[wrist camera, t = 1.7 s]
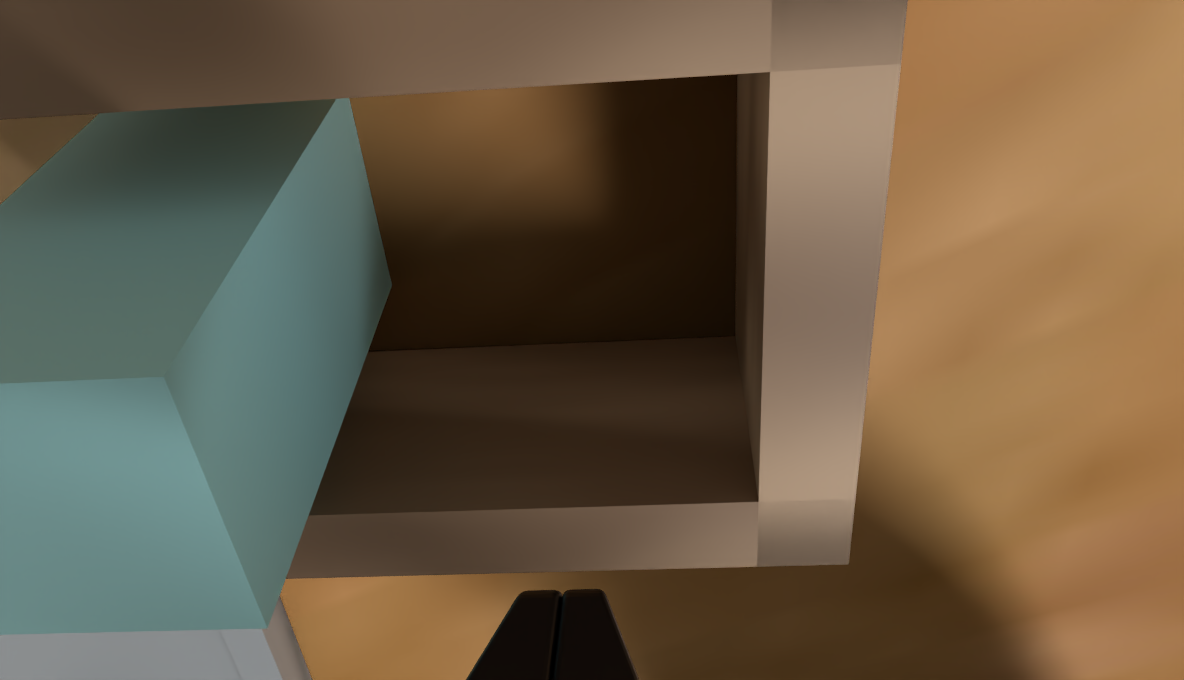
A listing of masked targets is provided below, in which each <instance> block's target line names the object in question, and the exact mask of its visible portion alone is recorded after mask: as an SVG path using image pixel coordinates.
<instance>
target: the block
mask: <svg viewBox="0 0 1184 680" xmlns="http://www.w3.org/2000/svg"><path fill="white" fill-rule="evenodd" d="M391 287H392V283H391V278H390V274H389V270H388V265H387V261H386V257H385V252H384V248H383V243H382V239H381V235H380V230H379V226H378V222H377V217H376V213H375V209H374V204H373V200H372V196H371V191H370V187H369V182H368V178H367V174H366V169H365V165H364V161H363V156H362V152H361V148H360V143H359V139H358V134H357V130H356V126H355V121H354V117H353V113H352V108H351V104H350V100H349V98H341V99H325V100H308V101H292V102H276V103H260V104H243V105H227V106H211V107H195V108H179V109H162V110H146V111H130V112H114V113H99V114H98V115H97V116H96V117H95V118H94V119H93V120H92V121H91V122H90V123H89V124H87V125H86V126H85V127H84V128H83V129H82V130H81V131H80V132H79V133H78V134H77V135H75V136H74V137H73V138H72V139H71V140H70V141H69V142H68V143H67V144H66V145H65V146H64V147H62V148H61V149H60V150H59V151H58V152H57V153H56V154H55V155H54V156H53V157H52V158H50V159H49V160H48V161H47V162H46V163H45V164H44V165H43V166H42V167H41V168H40V169H39V170H37V171H36V172H35V173H34V174H33V175H32V176H31V177H30V178H29V179H28V180H27V181H25V182H24V183H23V184H22V185H21V186H20V187H19V188H18V189H17V190H16V191H15V192H14V193H12V194H11V195H10V196H9V197H8V198H7V199H6V200H5V201H4V202H3V203H2V204H1V205H0V635H12V634H54V633H97V632H139V631H181V630H224V629H266V628H268V626H269V623H270V620H271V618H272V615H273V612H274V609H275V606H276V604H277V601H278V598H279V595H280V593H281V590H282V587H283V584H284V582H285V579H286V576H287V573H288V571H289V568H290V565H291V562H292V560H293V557H294V554H295V551H296V549H297V546H298V543H299V540H300V538H301V535H302V532H303V529H304V527H305V524H306V521H307V518H308V516H309V513H310V510H311V507H312V505H313V502H314V499H315V496H316V494H317V491H318V488H319V485H320V482H321V480H322V477H323V474H324V471H325V469H326V466H327V463H328V460H329V458H330V455H331V452H332V449H333V447H334V444H335V441H336V438H337V436H338V433H339V430H340V427H341V425H342V422H343V419H344V416H345V414H346V411H347V408H348V405H349V403H350V400H351V397H352V394H353V392H354V389H355V386H356V383H357V381H358V378H359V375H360V372H361V370H362V367H363V364H364V361H365V359H366V356H367V353H368V350H369V347H370V345H371V342H372V339H373V336H374V334H375V331H376V328H377V325H378V323H379V320H380V317H381V314H382V312H383V309H384V306H385V303H386V301H387V298H388V295H389V292H390V290H391Z"/></svg>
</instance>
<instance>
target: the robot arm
mask: <svg viewBox="0 0 1184 680" xmlns="http://www.w3.org/2000/svg"><path fill="white" fill-rule="evenodd" d="M466 680H639V678H638V675H637V673H636V670H635V668H634V665H633V663H632V660H631V657H630V655H629V652H628V650H627V647H626V645H625V642H624V640H623V637H622V634H621V632H620V629H619V627H618V624H617V622H616V619H615V617H614V614H613V611H612V609H611V606H610V604H609V601H608V599H607V596H606V594H605V593H604V592H603V591H602V590H600V589H577V590H567V591H566V592H565V593H564V594H563V596H562V594H561V593H560V592H559V591H556V590H534V591H524V592H522V593H521V594H519V596H518V597H517V598H516V600H515V601H514V603H513V604H512V606H511V608H510V609H509V611H508V612H507V614H506V616H505V617H504V619H503V620H502V622H501V624H500V625H499V627H498V629H497V630H496V632H495V633H494V635H493V637H492V638H491V640H490V642H489V643H488V645H487V646H486V648H485V650H484V651H483V653H482V655H481V656H480V658H479V659H478V661H477V663H476V664H475V666H474V668H473V669H472V671H471V672H470V674H469V676H468V677H467V679H466Z"/></svg>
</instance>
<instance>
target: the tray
mask: <svg viewBox="0 0 1184 680" xmlns="http://www.w3.org/2000/svg"><path fill="white" fill-rule="evenodd" d="M0 680H312V678H311V675H310V673H309V670H308V668H307V665H306V663H305V660H304V658H303V655H302V652H301V650H300V647H299V645H298V642H297V640H296V637H295V634H294V632H293V629H292V627H291V624H290V622H289V619H288V616H287V614H286V611H285V609H284V606H283V604H282V601H281V599H280V596H279V598H278V601H277V604H276V606H275V609H274V612H273V615H272V618H271V620H270V623H269V626H268V628H266V629H224V630H181V631H139V632H97V633H54V634H12V635H0Z"/></svg>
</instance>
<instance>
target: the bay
mask: <svg viewBox="0 0 1184 680" xmlns="http://www.w3.org/2000/svg"><path fill="white" fill-rule="evenodd" d="M907 2H908V0H0V119H16V118H33V117H49V116H65V115H81V114H97V113H114V112H130V111H146V110H162V109H179V108H195V107H211V106H227V105H243V104H260V103H276V102H292V101H308V100H325V99H341V98H357V97H373V96H389V95H406V94H422V93H438V92H454V91H470V90H487V89H503V88H519V87H535V86H552V85H568V84H584V83H600V82H616V81H633V80H649V79H665V78H681V77H698V76H714V75H730V74H737V176H736V317H735V336H729V337H706V338H682V339H659V340H635V341H612V342H588V343H564V344H541V345H517V346H494V347H470V348H447V349H423V350H400V351H376V352H368V353H367V356H366V359H365V361H364V364H363V367H362V370H361V372H360V375H359V378H358V381H357V383H356V386H355V389H354V392H353V394H352V397H351V400H350V403H349V405H348V408H347V411H346V414H345V416H344V419H343V422H342V425H341V427H340V430H339V433H338V436H337V438H336V441H335V444H334V447H333V449H332V452H331V455H330V458H329V460H328V463H327V466H326V469H325V471H324V474H323V477H322V480H321V482H320V485H319V488H318V491H317V494H316V496H315V499H314V502H313V505H312V507H311V510H310V513H309V516H308V518H307V521H306V524H305V527H304V529H303V532H302V535H301V538H300V540H299V543H298V546H297V549H296V551H295V554H294V557H293V560H292V562H291V565H290V568H289V571H288V573H287V576H286V579H296V578H335V577H374V576H413V575H452V574H491V573H529V572H568V571H607V570H646V569H685V568H724V567H763V566H802V565H841V564H849V556H850V546H851V536H852V527H853V517H854V508H855V498H856V489H857V479H858V470H859V460H860V451H861V441H862V431H863V422H864V412H865V403H866V393H867V384H868V374H869V365H870V355H871V345H872V336H873V326H874V317H875V307H876V298H877V288H878V279H879V269H880V260H881V250H882V240H883V231H884V221H885V212H886V202H887V193H888V183H889V174H890V164H891V154H892V145H893V135H894V126H895V116H896V107H897V97H898V88H899V78H900V69H901V59H902V49H903V40H904V30H905V21H906V11H907Z"/></svg>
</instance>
